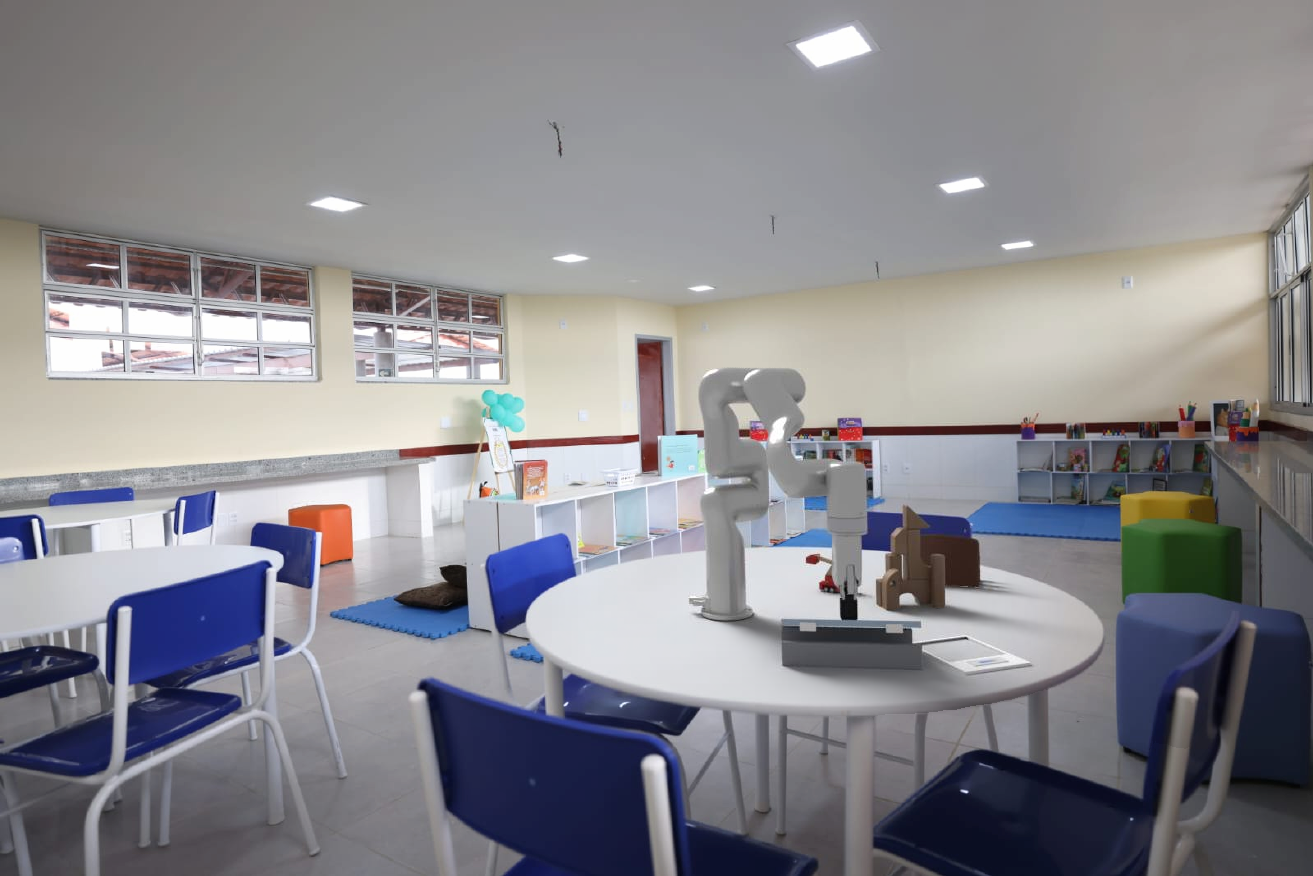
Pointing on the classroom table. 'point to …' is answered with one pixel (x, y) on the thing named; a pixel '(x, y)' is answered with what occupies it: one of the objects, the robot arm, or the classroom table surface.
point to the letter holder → (953, 557)
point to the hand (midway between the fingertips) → (848, 618)
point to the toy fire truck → (828, 582)
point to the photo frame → (979, 659)
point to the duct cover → (852, 624)
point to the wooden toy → (911, 568)
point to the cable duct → (850, 648)
